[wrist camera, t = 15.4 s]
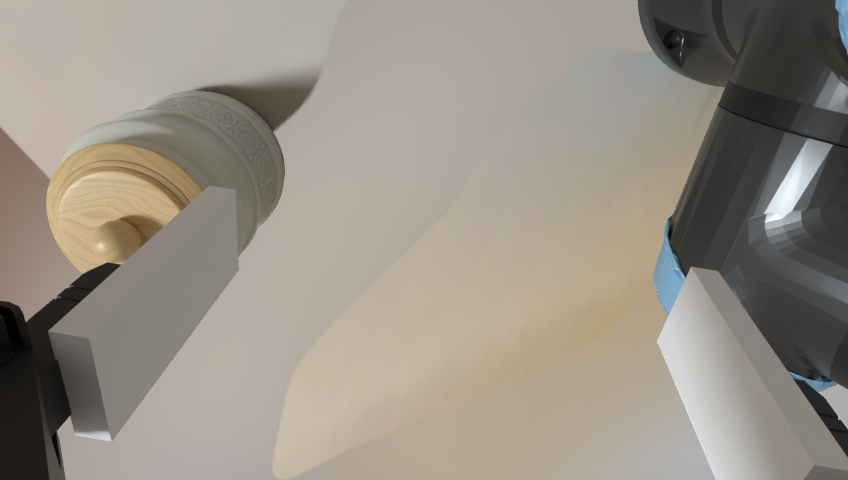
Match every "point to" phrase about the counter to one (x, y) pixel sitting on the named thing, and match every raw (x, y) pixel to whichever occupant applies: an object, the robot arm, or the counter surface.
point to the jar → (161, 174)
